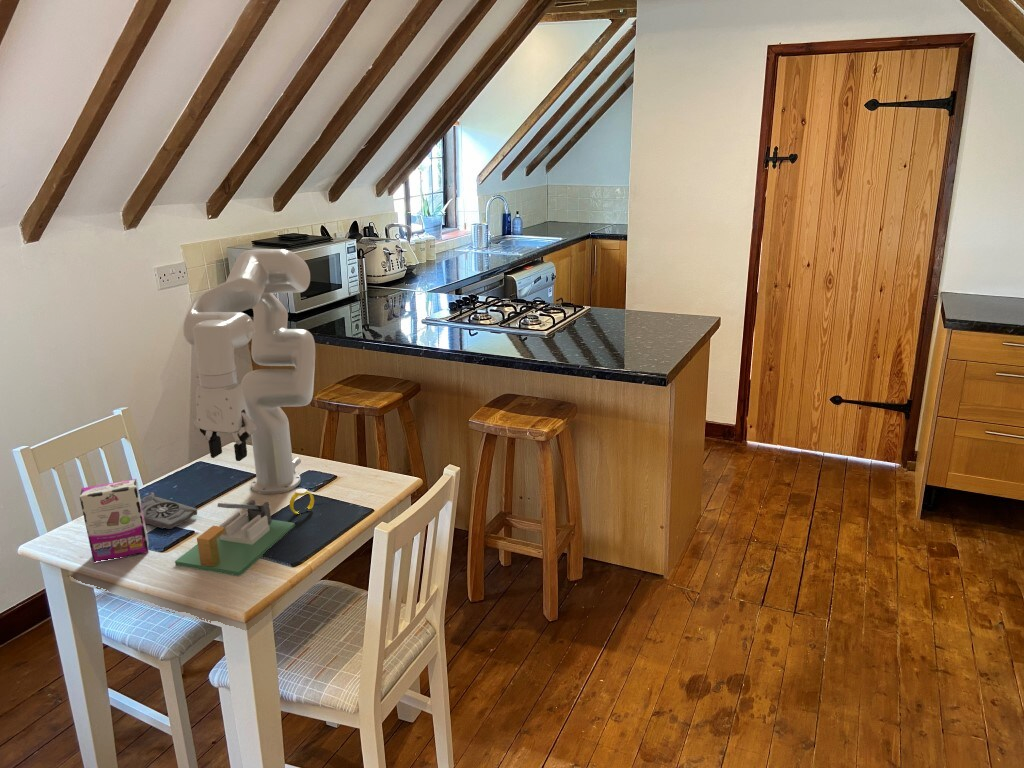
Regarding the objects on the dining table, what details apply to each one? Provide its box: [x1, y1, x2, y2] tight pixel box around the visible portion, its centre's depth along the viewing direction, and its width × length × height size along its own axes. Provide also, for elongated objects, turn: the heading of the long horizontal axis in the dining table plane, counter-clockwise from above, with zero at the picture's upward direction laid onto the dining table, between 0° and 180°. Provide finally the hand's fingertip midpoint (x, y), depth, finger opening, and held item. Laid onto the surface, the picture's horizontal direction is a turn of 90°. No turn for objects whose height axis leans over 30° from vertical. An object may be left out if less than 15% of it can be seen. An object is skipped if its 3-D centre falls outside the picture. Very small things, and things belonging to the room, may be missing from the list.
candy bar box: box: [79, 478, 150, 563], centre depth 170 cm, size 11×5×16 cm, turn 114°
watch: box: [289, 488, 315, 515], centre depth 190 cm, size 6×3×6 cm, turn 133°
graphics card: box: [140, 492, 198, 530], centre depth 187 cm, size 17×4×12 cm
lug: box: [196, 525, 226, 567], centre depth 167 cm, size 6×3×6 cm, turn 164°
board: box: [174, 499, 296, 577], centre depth 175 cm, size 22×16×6 cm
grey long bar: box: [217, 502, 262, 510], centre depth 176 cm, size 14×2×1 cm, turn 164°
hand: (229, 456), depth 170 cm, fingers open, 5 cm apart
